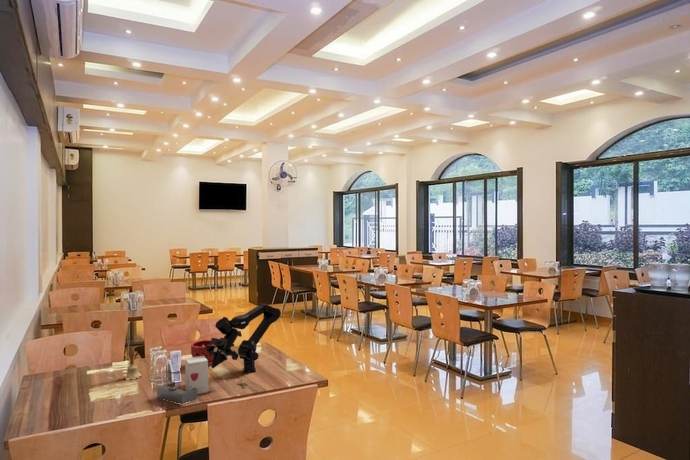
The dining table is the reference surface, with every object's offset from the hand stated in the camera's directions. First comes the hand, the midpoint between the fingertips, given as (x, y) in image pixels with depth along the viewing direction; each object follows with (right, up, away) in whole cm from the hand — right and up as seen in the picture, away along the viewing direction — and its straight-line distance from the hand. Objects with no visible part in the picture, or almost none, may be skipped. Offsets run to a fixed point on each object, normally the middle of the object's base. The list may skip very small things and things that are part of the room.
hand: (212, 367), depth 226 cm
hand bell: (-44, -9, +14) cm, 47 cm away
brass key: (+15, -8, -1) cm, 17 cm away
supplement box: (-5, -9, -7) cm, 13 cm away
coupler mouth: (-11, -9, -16) cm, 21 cm away
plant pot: (-13, -8, +32) cm, 35 cm away
